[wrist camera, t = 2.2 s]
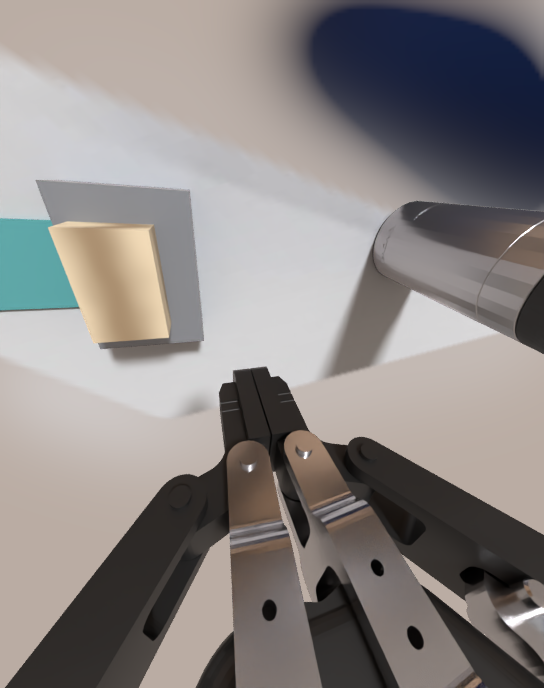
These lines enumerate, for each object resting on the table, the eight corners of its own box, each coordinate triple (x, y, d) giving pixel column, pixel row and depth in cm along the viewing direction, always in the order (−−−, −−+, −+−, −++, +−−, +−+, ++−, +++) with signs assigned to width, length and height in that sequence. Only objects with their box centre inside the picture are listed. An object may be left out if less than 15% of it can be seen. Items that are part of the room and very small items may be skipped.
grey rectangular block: (189, 189, 22) (188, 191, 19) (202, 323, 30) (203, 340, 27) (61, 180, 20) (35, 180, 16) (111, 329, 27) (100, 348, 24)
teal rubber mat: (61, 220, 21) (59, 221, 21) (92, 305, 25) (91, 306, 25) (-94, 214, 18) (-97, 215, 18) (-30, 310, 23) (-32, 311, 23)
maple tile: (154, 224, 20) (148, 230, 17) (171, 322, 25) (168, 337, 22) (67, 221, 18) (47, 227, 16) (104, 326, 23) (93, 343, 21)
